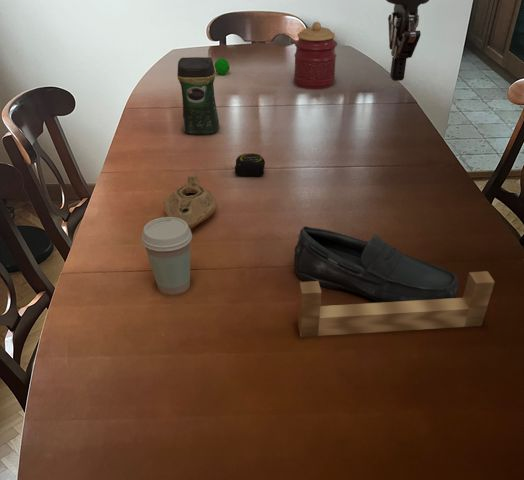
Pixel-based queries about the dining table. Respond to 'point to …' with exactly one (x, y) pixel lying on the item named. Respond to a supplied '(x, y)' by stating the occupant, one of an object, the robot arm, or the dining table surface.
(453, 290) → the loafer
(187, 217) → the oil lamp
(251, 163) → the tape measure
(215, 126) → the coffee jar
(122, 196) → the dining table surface
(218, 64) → the polyhedron
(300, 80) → the kitchen canister
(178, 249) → the coffee cup
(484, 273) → the wooden u-shaped bracket
